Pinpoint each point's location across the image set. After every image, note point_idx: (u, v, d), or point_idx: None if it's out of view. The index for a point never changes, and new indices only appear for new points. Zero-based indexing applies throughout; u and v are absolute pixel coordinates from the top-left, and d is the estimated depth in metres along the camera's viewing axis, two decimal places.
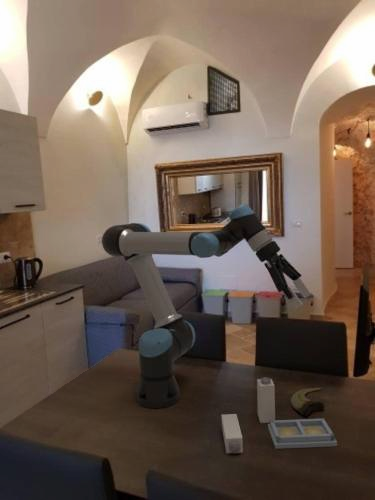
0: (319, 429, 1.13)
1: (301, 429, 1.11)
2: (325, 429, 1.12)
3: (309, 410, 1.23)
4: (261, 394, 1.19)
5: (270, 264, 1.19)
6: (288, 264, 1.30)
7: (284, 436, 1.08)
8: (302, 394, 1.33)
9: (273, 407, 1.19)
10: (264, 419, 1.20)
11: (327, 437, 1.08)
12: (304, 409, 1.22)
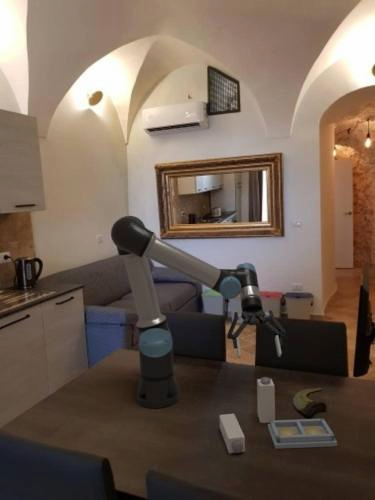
0: (319, 429, 1.13)
1: (301, 429, 1.11)
2: (325, 429, 1.12)
3: (312, 411, 1.22)
4: (261, 394, 1.19)
5: None
6: (235, 325, 1.39)
7: (284, 436, 1.08)
8: (304, 395, 1.33)
9: (273, 407, 1.19)
10: (264, 419, 1.20)
11: (327, 437, 1.08)
12: (307, 410, 1.22)
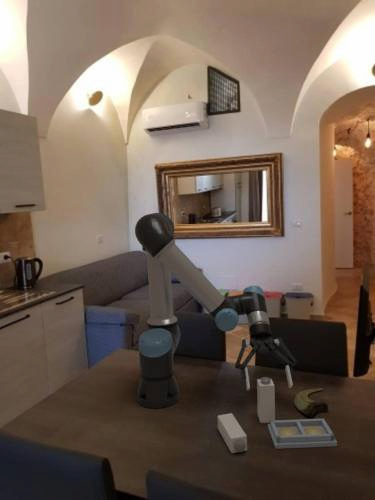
0: (319, 429, 1.13)
1: (301, 429, 1.11)
2: (325, 429, 1.12)
3: (314, 411, 1.22)
4: (261, 394, 1.19)
5: None
6: (243, 353, 1.32)
7: (284, 436, 1.08)
8: (305, 395, 1.33)
9: (273, 407, 1.19)
10: (264, 419, 1.20)
11: (327, 437, 1.08)
12: (309, 410, 1.21)
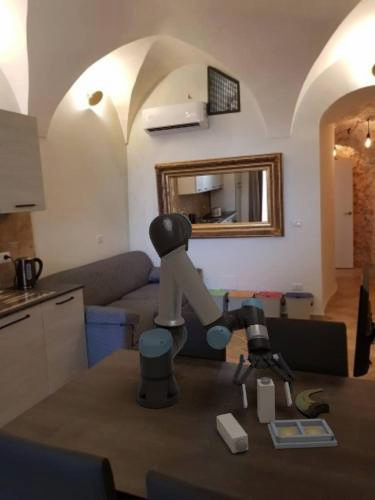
0: (319, 429, 1.13)
1: (301, 429, 1.11)
2: (325, 429, 1.12)
3: (315, 412, 1.22)
4: (261, 394, 1.19)
5: None
6: None
7: (284, 436, 1.08)
8: (306, 395, 1.32)
9: (273, 407, 1.19)
10: (264, 419, 1.20)
11: (327, 437, 1.08)
12: (310, 411, 1.21)
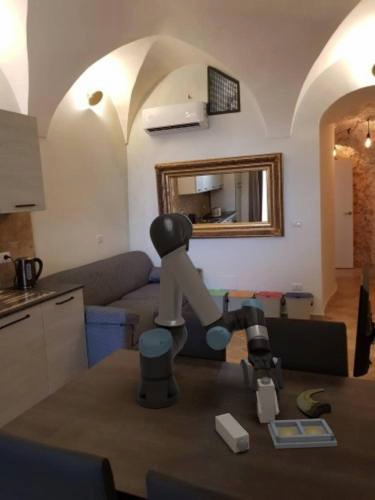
0: (319, 429, 1.13)
1: (301, 429, 1.11)
2: (325, 429, 1.12)
3: (317, 412, 1.21)
4: (261, 394, 1.19)
5: None
6: None
7: (284, 436, 1.08)
8: (307, 396, 1.32)
9: (273, 407, 1.19)
10: (264, 419, 1.20)
11: (327, 437, 1.08)
12: (313, 411, 1.21)
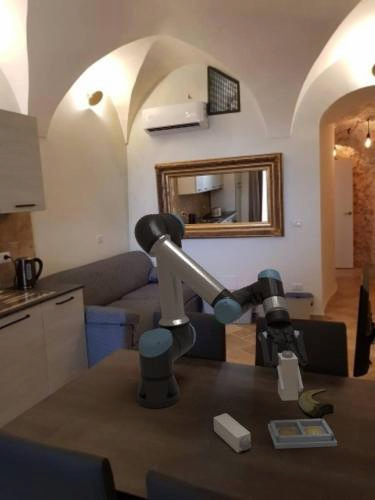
0: (319, 429, 1.13)
1: (301, 429, 1.11)
2: (325, 429, 1.12)
3: (320, 412, 1.21)
4: (283, 369, 1.07)
5: None
6: None
7: (284, 436, 1.08)
8: (309, 396, 1.32)
9: (296, 383, 1.08)
10: (286, 396, 1.08)
11: (327, 437, 1.08)
12: (316, 412, 1.20)
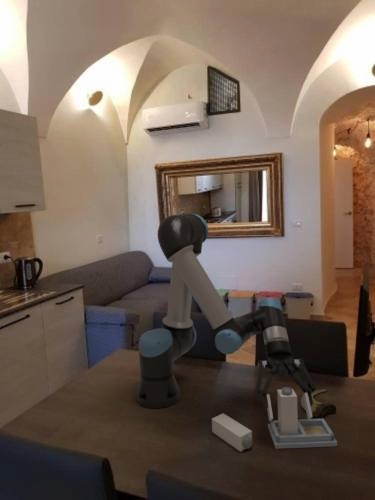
0: (319, 429, 1.13)
1: (301, 429, 1.11)
2: (325, 429, 1.12)
3: (323, 413, 1.21)
4: (282, 406, 1.09)
5: None
6: None
7: (284, 436, 1.08)
8: None
9: (296, 420, 1.09)
10: (286, 433, 1.10)
11: (327, 437, 1.08)
12: (318, 413, 1.20)
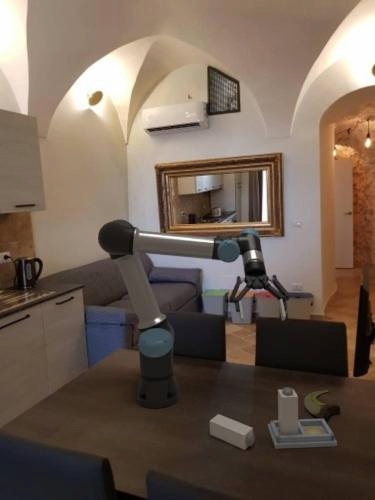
0: (319, 429, 1.13)
1: (301, 429, 1.11)
2: (325, 429, 1.12)
3: (328, 414, 1.20)
4: (283, 406, 1.09)
5: None
6: None
7: (284, 436, 1.08)
8: (314, 398, 1.31)
9: (296, 420, 1.09)
10: (286, 433, 1.10)
11: (327, 437, 1.08)
12: (323, 414, 1.19)
